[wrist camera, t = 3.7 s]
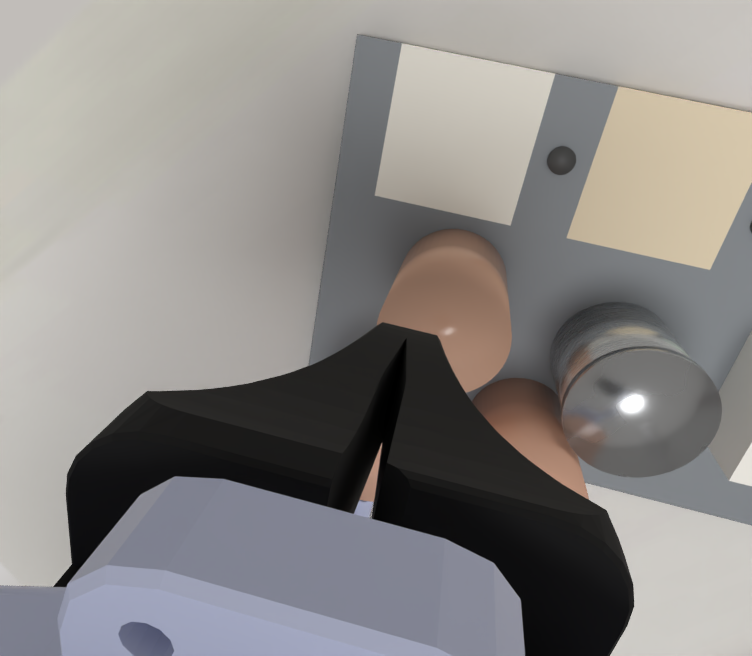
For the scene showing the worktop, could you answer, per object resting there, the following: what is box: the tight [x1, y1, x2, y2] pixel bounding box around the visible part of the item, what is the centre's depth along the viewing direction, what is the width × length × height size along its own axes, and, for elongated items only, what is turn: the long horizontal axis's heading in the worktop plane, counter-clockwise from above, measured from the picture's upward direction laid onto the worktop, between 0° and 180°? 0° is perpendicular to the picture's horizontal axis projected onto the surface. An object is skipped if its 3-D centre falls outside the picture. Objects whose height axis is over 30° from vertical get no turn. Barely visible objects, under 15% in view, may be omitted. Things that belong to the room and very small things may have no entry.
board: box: [309, 34, 752, 525], centre depth 20 cm, size 15×22×1 cm
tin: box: [550, 302, 722, 478], centre depth 19 cm, size 5×5×4 cm
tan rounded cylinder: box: [377, 229, 512, 392], centre depth 19 cm, size 4×4×5 cm
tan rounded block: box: [472, 378, 589, 500], centre depth 21 cm, size 4×4×5 cm
